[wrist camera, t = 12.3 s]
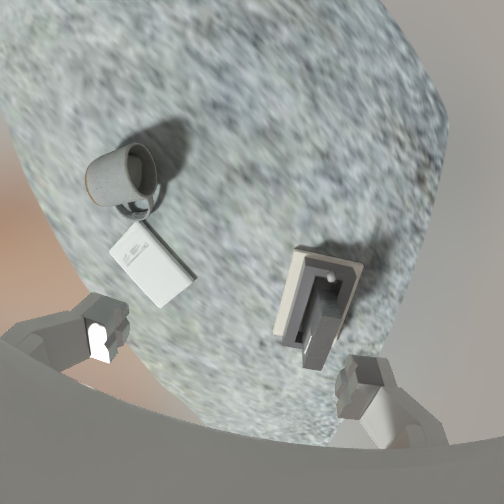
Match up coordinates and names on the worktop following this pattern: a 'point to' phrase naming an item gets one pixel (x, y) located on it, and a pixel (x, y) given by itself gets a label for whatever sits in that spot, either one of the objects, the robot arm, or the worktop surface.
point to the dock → (300, 288)
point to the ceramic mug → (123, 179)
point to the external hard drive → (150, 264)
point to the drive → (320, 324)
